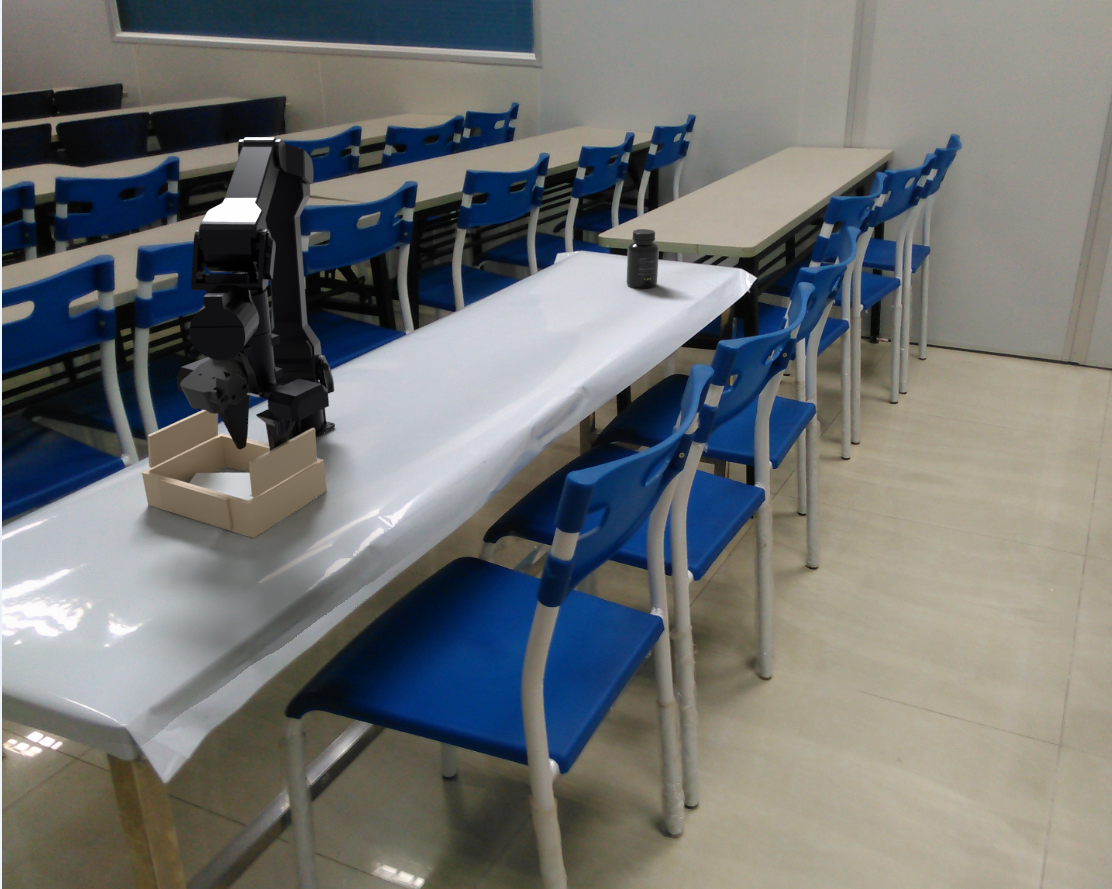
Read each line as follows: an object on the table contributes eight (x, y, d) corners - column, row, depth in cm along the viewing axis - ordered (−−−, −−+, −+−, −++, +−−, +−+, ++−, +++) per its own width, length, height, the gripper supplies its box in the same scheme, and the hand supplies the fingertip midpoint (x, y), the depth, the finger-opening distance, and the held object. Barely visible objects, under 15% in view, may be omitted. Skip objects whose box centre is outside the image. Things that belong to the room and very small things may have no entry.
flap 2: (314, 460, 120) (317, 461, 119) (251, 496, 111) (254, 497, 111) (312, 427, 118) (315, 428, 117) (248, 462, 109) (251, 463, 109)
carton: (228, 462, 130) (224, 432, 128) (329, 490, 123) (325, 458, 121) (145, 506, 118) (138, 474, 116) (250, 539, 111) (245, 505, 109)
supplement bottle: (621, 282, 215) (623, 228, 209) (649, 280, 216) (652, 227, 211) (633, 290, 209) (635, 235, 204) (661, 288, 210) (665, 233, 205)
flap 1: (151, 467, 117) (149, 466, 117) (217, 435, 126) (215, 434, 126) (149, 436, 115) (147, 435, 115) (217, 405, 124) (215, 404, 124)
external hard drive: (198, 482, 124) (295, 481, 124) (178, 513, 116) (281, 512, 117) (196, 471, 123) (293, 470, 124) (176, 501, 116) (279, 500, 116)
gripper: (129, 335, 106) (150, 461, 113) (255, 365, 99) (270, 499, 105) (205, 310, 115) (221, 428, 122) (326, 336, 108) (336, 461, 114)
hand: (259, 453), depth 116 cm, fingers open, 5 cm apart
